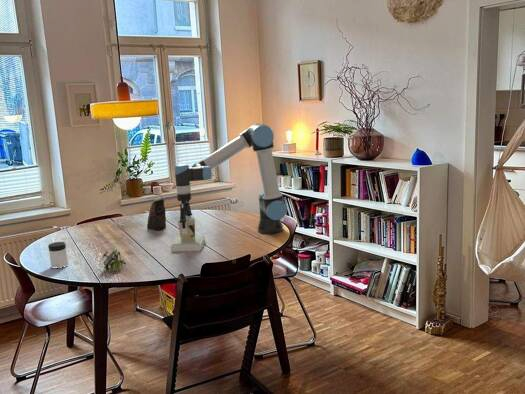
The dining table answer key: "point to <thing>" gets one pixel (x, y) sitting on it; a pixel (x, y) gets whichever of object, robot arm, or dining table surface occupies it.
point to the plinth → (188, 244)
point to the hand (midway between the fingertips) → (187, 230)
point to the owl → (157, 215)
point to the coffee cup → (188, 230)
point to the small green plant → (117, 263)
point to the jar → (58, 254)
